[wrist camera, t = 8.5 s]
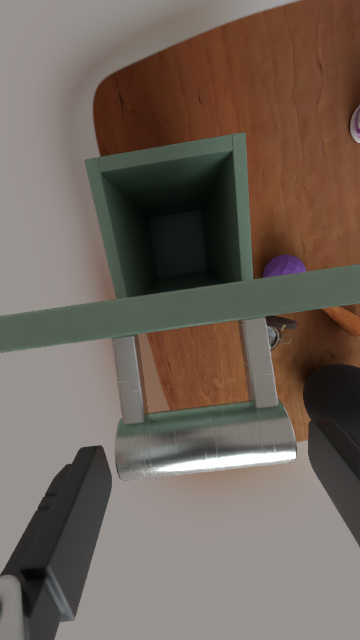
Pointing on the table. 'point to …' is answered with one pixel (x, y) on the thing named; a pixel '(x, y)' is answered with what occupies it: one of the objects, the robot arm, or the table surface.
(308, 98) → the table surface
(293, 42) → the table surface
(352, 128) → the pill bottle
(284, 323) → the compass
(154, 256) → the trash can
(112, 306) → the bin lid
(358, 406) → the decorative egg
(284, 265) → the kendama
